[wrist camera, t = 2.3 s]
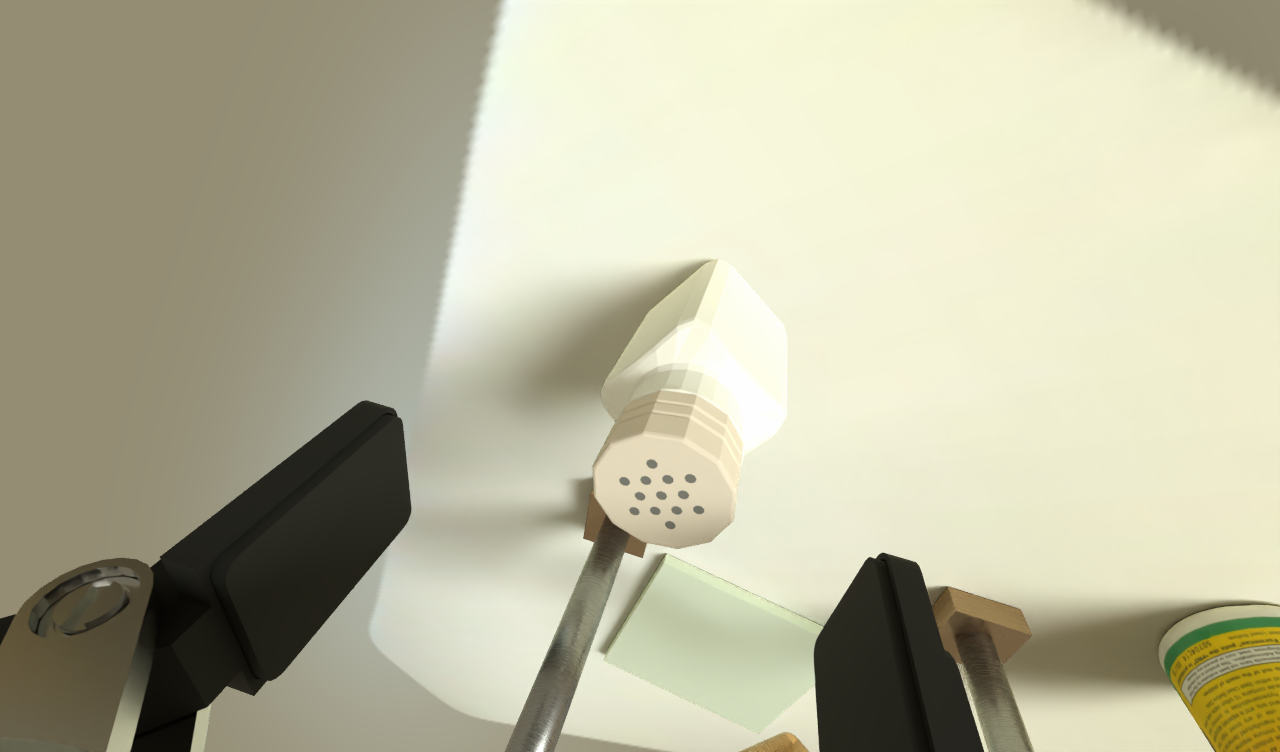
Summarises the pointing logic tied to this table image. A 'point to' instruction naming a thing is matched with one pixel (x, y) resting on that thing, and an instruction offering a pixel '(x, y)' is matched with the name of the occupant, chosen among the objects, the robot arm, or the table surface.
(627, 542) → the wire hurdle
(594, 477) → the salt shaker
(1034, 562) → the table surface
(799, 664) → the mat
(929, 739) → the robot arm
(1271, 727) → the supplement bottle
